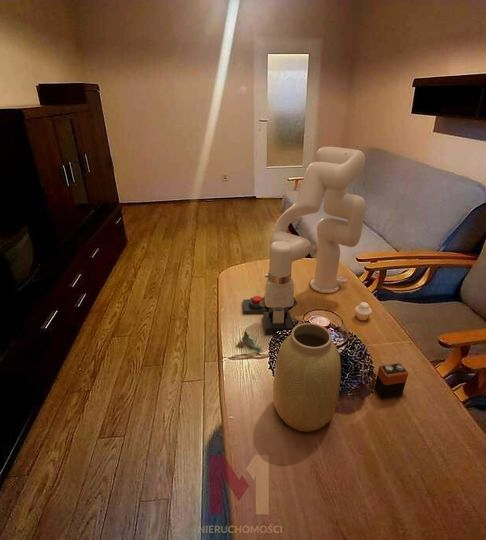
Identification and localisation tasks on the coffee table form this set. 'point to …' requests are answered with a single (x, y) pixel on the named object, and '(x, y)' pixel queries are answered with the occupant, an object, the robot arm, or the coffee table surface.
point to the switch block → (252, 307)
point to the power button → (256, 299)
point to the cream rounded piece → (363, 311)
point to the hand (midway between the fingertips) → (277, 319)
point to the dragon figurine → (247, 341)
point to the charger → (278, 315)
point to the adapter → (273, 328)
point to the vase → (307, 378)
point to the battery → (391, 380)
